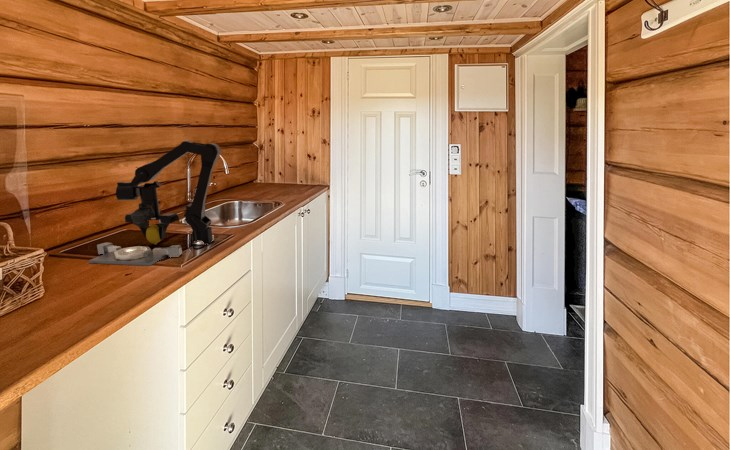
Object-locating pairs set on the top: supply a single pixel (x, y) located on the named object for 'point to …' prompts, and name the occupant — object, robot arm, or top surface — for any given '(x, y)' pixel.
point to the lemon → (153, 234)
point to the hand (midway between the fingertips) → (154, 239)
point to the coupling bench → (127, 262)
